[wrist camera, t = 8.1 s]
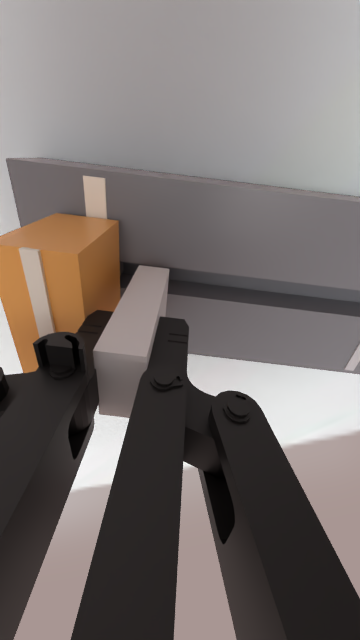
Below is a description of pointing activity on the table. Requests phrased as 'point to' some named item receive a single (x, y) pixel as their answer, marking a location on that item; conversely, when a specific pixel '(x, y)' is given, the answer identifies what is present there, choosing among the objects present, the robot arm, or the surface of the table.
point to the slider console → (224, 255)
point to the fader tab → (57, 277)
